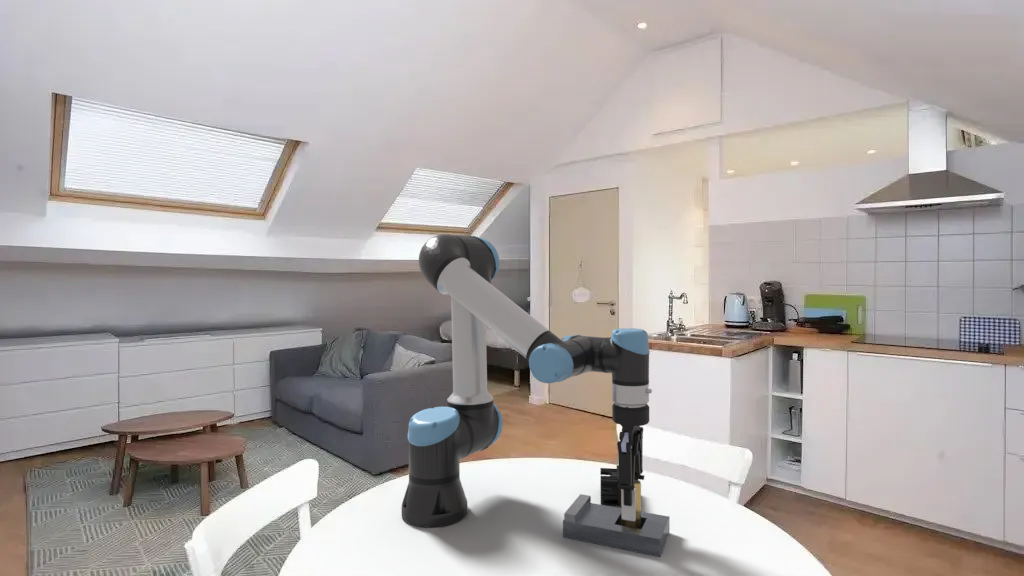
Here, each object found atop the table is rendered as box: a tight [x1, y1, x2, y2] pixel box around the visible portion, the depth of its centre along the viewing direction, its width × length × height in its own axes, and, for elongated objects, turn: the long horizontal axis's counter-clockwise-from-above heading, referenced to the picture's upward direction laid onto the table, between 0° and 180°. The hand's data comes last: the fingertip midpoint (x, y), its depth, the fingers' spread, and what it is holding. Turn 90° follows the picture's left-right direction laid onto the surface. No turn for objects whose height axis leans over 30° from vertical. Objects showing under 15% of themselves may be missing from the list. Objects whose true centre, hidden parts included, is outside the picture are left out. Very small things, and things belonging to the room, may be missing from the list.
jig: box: [562, 493, 670, 558], centre depth 117 cm, size 20×11×5 cm, turn 65°
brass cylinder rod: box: [620, 480, 642, 529], centre depth 115 cm, size 4×4×10 cm
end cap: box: [599, 464, 621, 507], centre depth 135 cm, size 10×7×7 cm
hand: (631, 514), depth 115 cm, fingers closed on brass cylinder rod, 4 cm apart
